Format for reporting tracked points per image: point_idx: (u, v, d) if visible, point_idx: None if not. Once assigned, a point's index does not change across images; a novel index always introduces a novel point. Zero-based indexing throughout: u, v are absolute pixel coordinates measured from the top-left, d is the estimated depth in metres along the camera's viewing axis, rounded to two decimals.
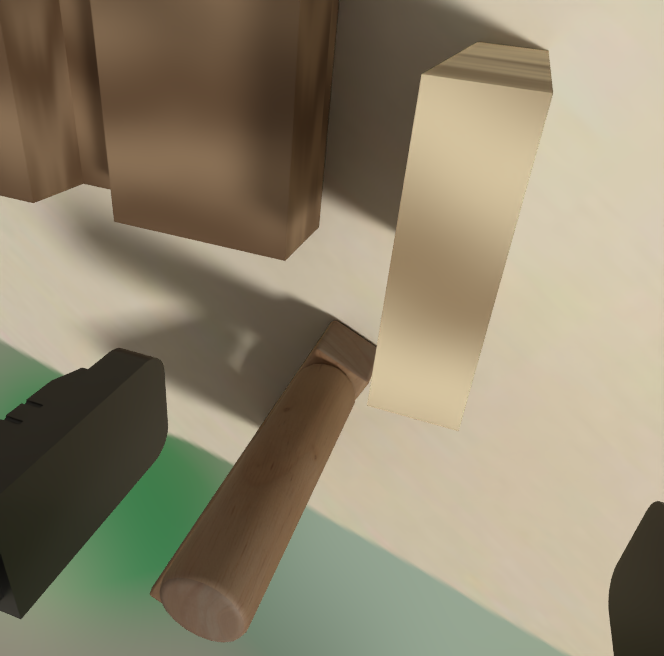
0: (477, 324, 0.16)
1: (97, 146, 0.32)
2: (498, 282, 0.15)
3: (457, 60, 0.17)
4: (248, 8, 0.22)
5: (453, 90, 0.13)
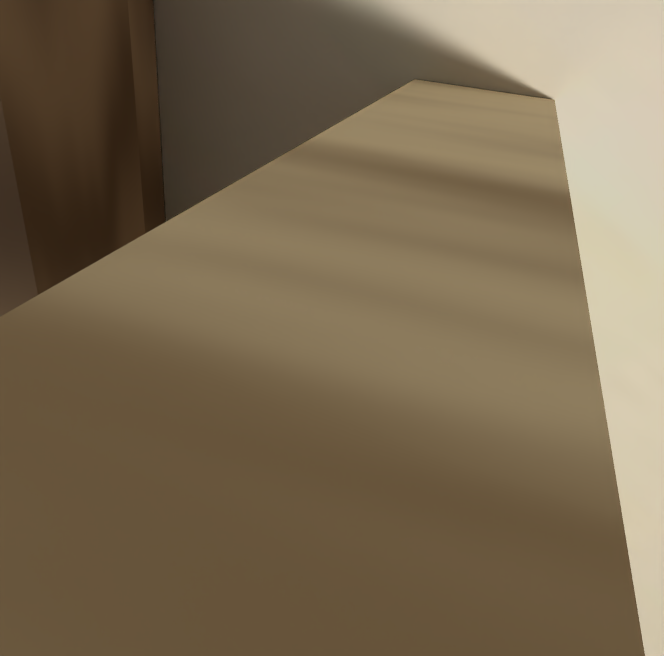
0: None
1: None
2: None
3: (234, 208, 0.05)
4: None
5: None
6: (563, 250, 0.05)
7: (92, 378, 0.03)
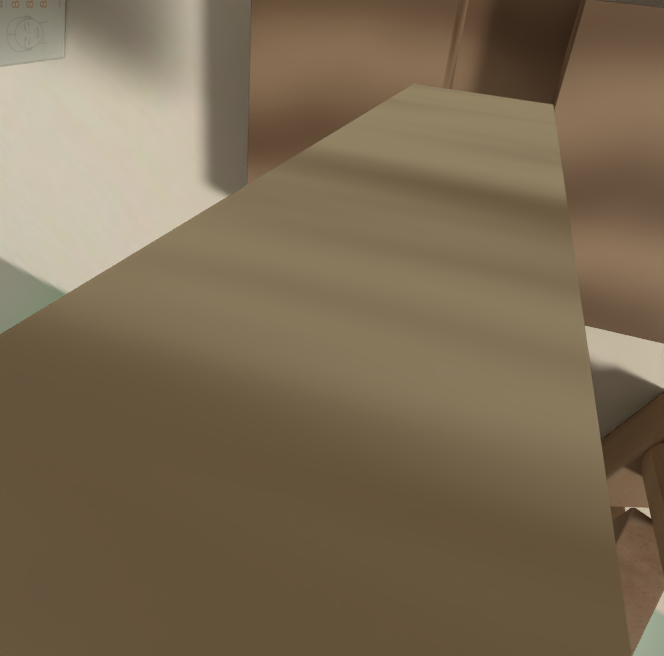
0: None
1: None
2: None
3: (234, 219, 0.05)
4: None
5: None
6: (559, 260, 0.05)
7: (95, 394, 0.03)
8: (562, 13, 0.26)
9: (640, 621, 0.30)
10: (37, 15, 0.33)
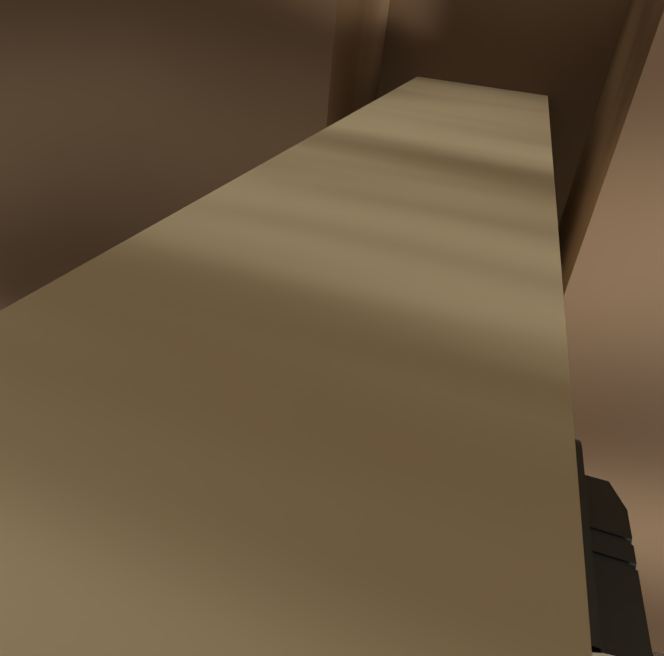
0: None
1: None
2: None
3: (269, 181, 0.05)
4: None
5: None
6: (543, 216, 0.05)
7: (183, 291, 0.03)
8: (590, 23, 0.12)
9: None
10: None
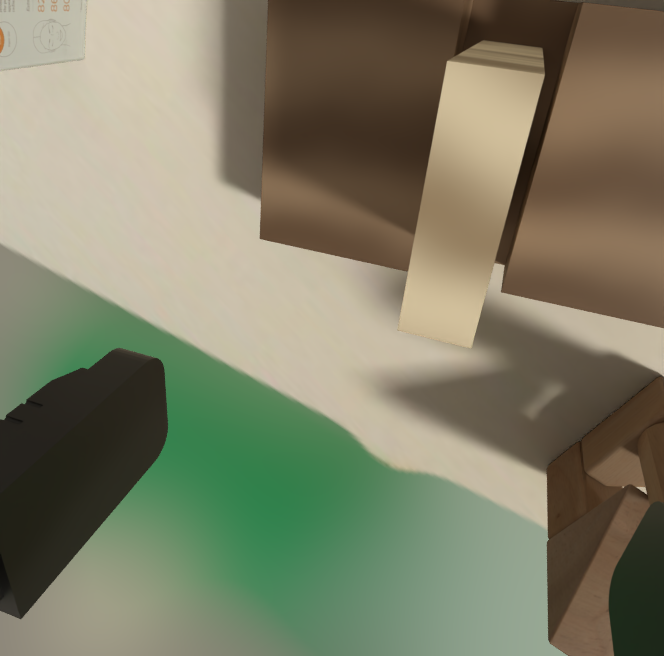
0: (487, 257, 0.21)
1: None
2: (503, 222, 0.20)
3: (470, 52, 0.22)
4: None
5: (471, 73, 0.18)
6: (540, 61, 0.21)
7: (476, 59, 0.20)
8: (560, 15, 0.28)
9: None
10: (60, 18, 0.35)
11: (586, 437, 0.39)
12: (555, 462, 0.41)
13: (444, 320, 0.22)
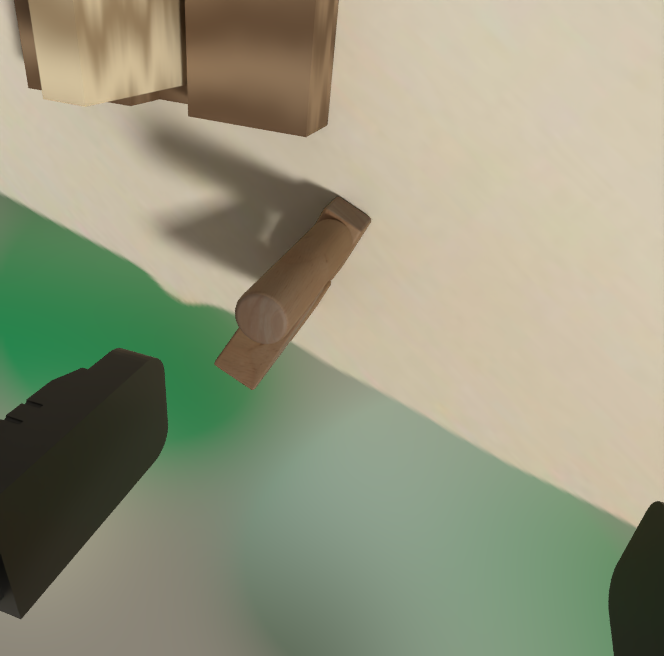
0: (72, 34, 0.32)
1: None
2: (72, 6, 0.31)
3: None
4: None
5: None
6: None
7: None
8: None
9: None
10: None
11: None
12: None
13: (65, 86, 0.34)
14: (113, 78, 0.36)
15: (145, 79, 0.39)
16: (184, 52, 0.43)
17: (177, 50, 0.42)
